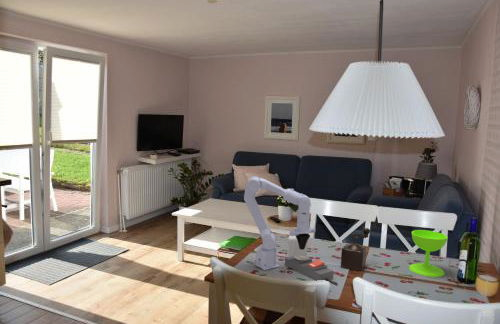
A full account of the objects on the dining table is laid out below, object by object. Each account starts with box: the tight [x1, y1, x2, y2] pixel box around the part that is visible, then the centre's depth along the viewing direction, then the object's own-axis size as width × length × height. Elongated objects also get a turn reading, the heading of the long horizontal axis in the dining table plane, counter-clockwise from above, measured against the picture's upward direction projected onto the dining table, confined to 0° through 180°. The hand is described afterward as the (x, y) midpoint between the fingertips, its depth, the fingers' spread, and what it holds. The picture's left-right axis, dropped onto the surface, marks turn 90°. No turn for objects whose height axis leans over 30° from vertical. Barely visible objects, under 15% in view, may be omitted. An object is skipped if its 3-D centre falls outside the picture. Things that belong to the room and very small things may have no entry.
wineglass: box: [408, 229, 448, 278], centre depth 195 cm, size 16×16×18 cm
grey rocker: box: [294, 255, 310, 261], centre depth 192 cm, size 6×4×1 cm, turn 125°
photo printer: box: [286, 235, 309, 258], centre depth 207 cm, size 10×4×12 cm, turn 98°
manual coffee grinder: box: [340, 227, 371, 272], centre depth 199 cm, size 16×11×18 cm
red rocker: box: [308, 259, 325, 268], centre depth 184 cm, size 6×4×1 cm, turn 125°
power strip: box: [284, 255, 339, 286], centre depth 186 cm, size 8×30×4 cm, turn 35°
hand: (301, 248), depth 192 cm, fingers closed
